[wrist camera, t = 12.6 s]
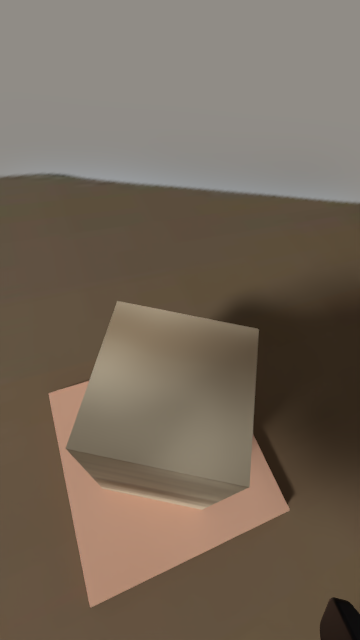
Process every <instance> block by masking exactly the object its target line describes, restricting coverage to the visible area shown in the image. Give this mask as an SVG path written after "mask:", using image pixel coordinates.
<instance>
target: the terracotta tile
mask: <svg viewBox="0 0 360 640" xmlns="http://www.w3.org/2000/svg"><path fill="white" fill-rule="evenodd" d="M88 383H89V381H87V382H83V383H80V384H77V385H74V386H71V387H67V388H64V389H61V390H58V391H55V392H51V393H49V398H50V404H51V409H52V414H53V419H54V424H55V429H56V435H57V440H58V445H59V450H60V455H61V460H62V465H63V471H64V476H65V481H66V486H67V491H68V496H69V501H70V507H71V512H72V517H73V522H74V527H75V532H76V537H77V543H78V548H79V553H80V558H81V563H82V568H83V574H84V579H85V584H86V589H87V594H88V599H89V604H90V608H91V607H93V606H95V605H97V604H99V603H101V602H103V601H105V600H107V599H109V598H111V597H113V596H115V595H117V594H119V593H122V592H124V591H126V590H128V589H130V588H132V587H134V586H136V585H138V584H140V583H142V582H144V581H146V580H148V579H150V578H152V577H154V576H156V575H158V574H160V573H162V572H164V571H167V570H169V569H171V568H173V567H175V566H177V565H179V564H181V563H183V562H185V561H187V560H189V559H191V558H193V557H195V556H197V555H199V554H201V553H203V552H205V551H207V550H209V549H212V548H214V547H216V546H218V545H220V544H222V543H224V542H226V541H228V540H230V539H232V538H234V537H236V536H238V535H240V534H242V533H244V532H246V531H248V530H250V529H252V528H254V527H257V526H259V525H261V524H263V523H265V522H267V521H269V520H271V519H273V518H275V517H277V516H279V515H281V514H283V513H285V512H287V511H289V510H290V509H289V507H288V505H287V503H286V501H285V499H284V497H283V495H282V493H281V491H280V489H279V487H278V485H277V482H276V480H275V478H274V476H273V474H272V472H271V470H270V468H269V466H268V464H267V462H266V460H265V458H264V456H263V454H262V452H261V449H260V447H259V445H258V443H257V441H256V439H255V437H254V435H253V437H252V454H251V471H250V487H249V488H247V489H245V490H243V491H240V492H238V493H236V494H234V495H232V496H230V497H228V498H226V499H224V500H221V501H219V502H217V503H215V504H213V505H211V506H209V507H207V508H205V509H202V510H201V509H196V508H191V507H187V506H182V505H177V504H173V503H168V502H163V501H158V500H154V499H149V498H144V497H140V496H135V495H130V494H126V493H121V492H116V491H111V490H107V489H102V487H101V486H100V485H99V484H98V483H97V482H96V481H95V480H94V479H93V478H92V477H91V476H90V475H89V473H88V472H87V471H86V470H85V469H84V468H83V467H82V466H81V465H80V464H79V463H78V462H77V460H76V459H75V458H74V457H73V456H72V455H71V454H70V453H69V452H68V451H67V450H66V449H65V448H66V446H67V443H68V440H69V437H70V434H71V431H72V428H73V426H74V423H75V420H76V417H77V414H78V411H79V409H80V406H81V403H82V400H83V397H84V394H85V392H86V389H87V386H88Z"/></svg>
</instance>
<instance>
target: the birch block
mask: <svg viewBox="0 0 360 640" xmlns="http://www.w3.org/2000/svg"><path fill="white" fill-rule="evenodd" d="M258 336H259V329H256V328H251V327H246V326H241V325H236V324H231V323H226V322H221V321H216V320H211V319H206V318H200V317H195V316H190V315H185V314H180V313H175V312H170V311H165V310H160V309H155V308H150V307H145V306H140V305H135V304H130V303H125V302H119V301H117V304H116V307H115V309H114V312H113V315H112V318H111V321H110V324H109V326H108V329H107V332H106V335H105V338H104V341H103V343H102V346H101V349H100V352H99V355H98V358H97V360H96V363H95V366H94V369H93V372H92V375H91V377H90V380H89V383H88V386H87V389H86V392H85V394H84V397H83V400H82V403H81V406H80V409H79V411H78V414H77V417H76V420H75V423H74V426H73V428H72V431H71V434H70V437H69V440H68V443H67V446H66V448H65V449H66V450H67V451H68V452H69V453H70V454H71V455H72V456H73V457H74V458H75V459H76V460H77V462H78V463H79V464H80V465H81V466H82V467H83V468H84V469H85V470H86V471H87V472H88V473H89V475H90V476H91V477H92V478H93V479H94V480H95V481H96V482H97V483H98V484H99V485H100V486H101V487H102V489H107V490H111V491H116V492H121V493H126V494H130V495H135V496H140V497H144V498H149V499H154V500H158V501H163V502H168V503H173V504H177V505H182V506H187V507H191V508H196V509H201V510H202V509H205V508H207V507H209V506H211V505H213V504H215V503H217V502H219V501H221V500H224V499H226V498H228V497H230V496H232V495H234V494H236V493H238V492H240V491H243V490H245V489H247V488H249V487H250V471H251V454H252V437H253V420H254V404H255V387H256V370H257V353H258Z"/></svg>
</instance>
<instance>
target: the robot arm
mask: <svg viewBox="0 0 360 640" xmlns="http://www.w3.org/2000/svg"><path fill="white" fill-rule="evenodd" d="M320 637H321V640H360V614H359V613H358V611H357V610H356V609H355V608H354V607H353V605H352V604H351V603H350V602H348V601H346V600H342V599H338V598H335V597H332V598H331V599H330V600H329V602H328V604H327V607H326V609H325V612H324V615H323V617H322V620H321V623H320Z"/></svg>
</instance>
